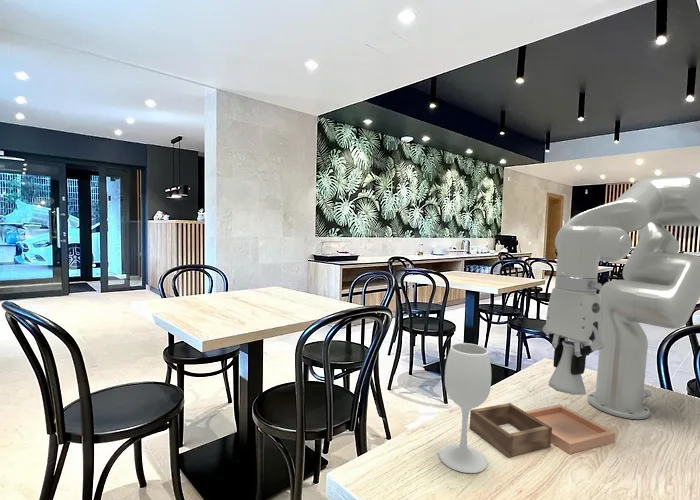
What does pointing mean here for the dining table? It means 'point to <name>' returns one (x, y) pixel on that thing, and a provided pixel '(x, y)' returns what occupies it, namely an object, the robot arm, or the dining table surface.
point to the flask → (567, 373)
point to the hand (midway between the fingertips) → (568, 369)
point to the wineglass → (466, 400)
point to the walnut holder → (513, 444)
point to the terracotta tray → (572, 429)
